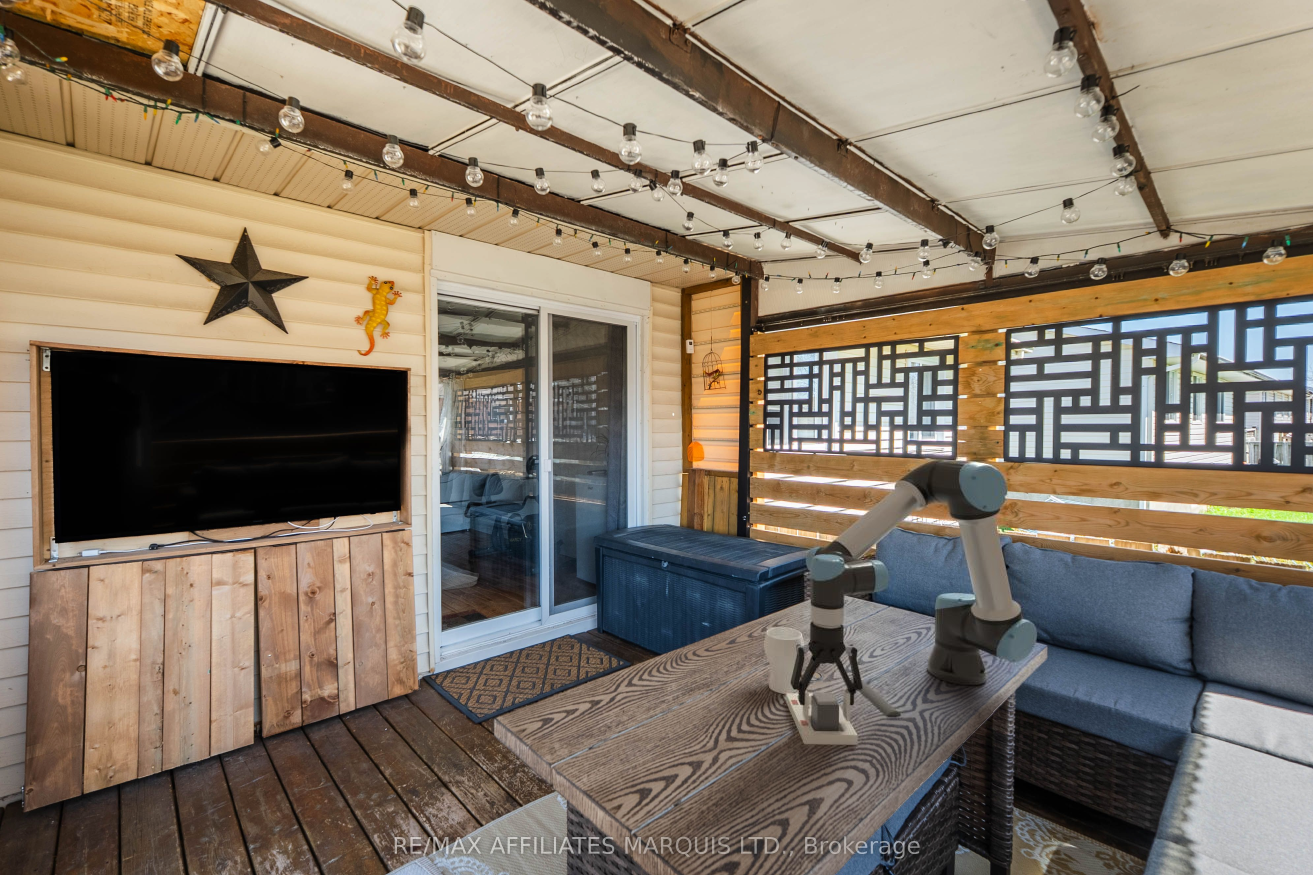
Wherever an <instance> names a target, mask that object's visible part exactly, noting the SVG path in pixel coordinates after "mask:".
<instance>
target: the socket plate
mask: <svg viewBox="0 0 1313 875" xmlns="http://www.w3.org/2000/svg"><path fill="white" fill-rule="evenodd" d="M798 693H799V692H794V693H786V694H785V703H786V704H787V705H786V706H787V707H788V710H789V713H790V714H791V716H792V719H793V721H794V723H795V726H796V728H797V731H798V732H799V736H800V738H801V739H802V742H803V744H804V745H841V746H842V745H845V746H846V745H848V746H850V745H851V746H858V745H859V744H858V743H859V742H858V741H859V738H858V736H859V735H858V733H857V732H856V730H855V729H854V727H853V725H852V723H851V722H850V721H846V719H845V718H844V716H843V708H842V707H841V706H840V705H839V731H814V730H813V728H812V726H811V695H813V693H814V692H812V693H810V692H808V693H809V721H805V719H804V717H803V705H800V703H799V700H798Z"/></svg>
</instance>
